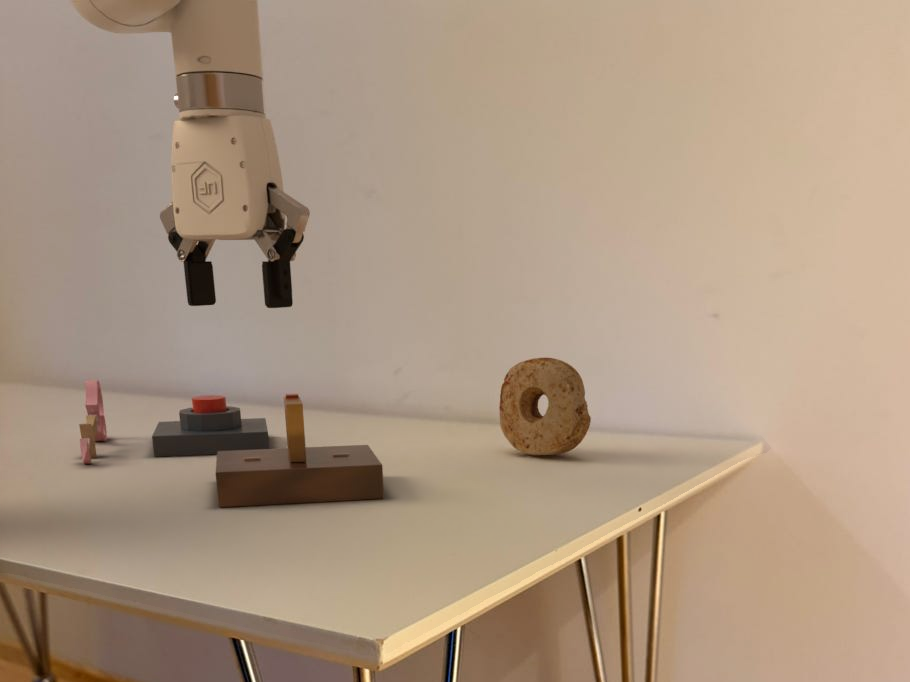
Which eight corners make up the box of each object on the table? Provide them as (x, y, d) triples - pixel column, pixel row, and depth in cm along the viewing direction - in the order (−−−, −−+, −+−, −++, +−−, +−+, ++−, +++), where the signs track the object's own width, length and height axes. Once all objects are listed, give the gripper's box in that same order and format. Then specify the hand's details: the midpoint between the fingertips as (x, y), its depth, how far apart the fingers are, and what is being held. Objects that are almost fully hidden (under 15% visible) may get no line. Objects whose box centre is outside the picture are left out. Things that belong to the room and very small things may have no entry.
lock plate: (218, 507, 83) (215, 470, 82) (220, 483, 92) (217, 449, 91) (383, 498, 86) (382, 462, 85) (369, 475, 95) (368, 442, 94)
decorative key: (82, 496, 99) (97, 432, 116) (95, 495, 100) (107, 432, 116) (71, 431, 96) (87, 375, 113) (84, 431, 96) (98, 375, 113)
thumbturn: (306, 461, 86) (302, 400, 84) (290, 462, 85) (285, 401, 83) (303, 451, 90) (299, 393, 88) (287, 452, 90) (283, 393, 88)
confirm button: (192, 416, 107) (191, 400, 106) (194, 411, 110) (192, 395, 109) (226, 415, 107) (225, 399, 107) (227, 410, 111) (225, 394, 110)
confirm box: (154, 457, 104) (149, 418, 103) (160, 441, 113) (156, 405, 112) (269, 452, 107) (266, 414, 105) (266, 436, 116) (264, 402, 114)
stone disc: (491, 452, 106) (491, 356, 102) (511, 447, 109) (512, 354, 105) (572, 464, 100) (575, 362, 96) (591, 458, 103) (595, 359, 99)
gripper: (120, 105, 88) (145, 306, 94) (268, 89, 80) (284, 310, 86) (182, 115, 94) (201, 303, 101) (325, 101, 86) (336, 306, 93)
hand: (239, 306), depth 93 cm, fingers open, 9 cm apart
